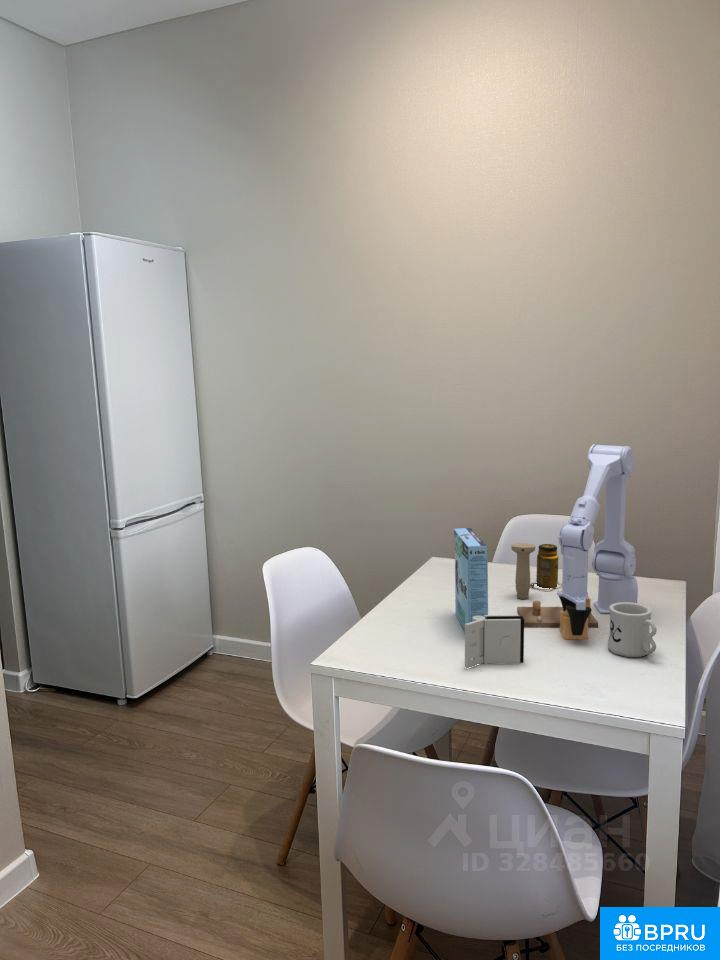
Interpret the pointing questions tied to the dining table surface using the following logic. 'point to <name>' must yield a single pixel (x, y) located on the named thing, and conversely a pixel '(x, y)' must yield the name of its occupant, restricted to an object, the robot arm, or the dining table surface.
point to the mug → (631, 630)
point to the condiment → (547, 567)
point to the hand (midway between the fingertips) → (573, 629)
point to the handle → (523, 568)
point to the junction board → (548, 615)
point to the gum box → (470, 575)
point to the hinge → (494, 639)
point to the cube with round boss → (566, 627)
